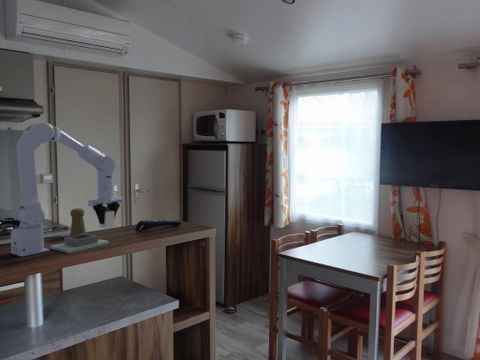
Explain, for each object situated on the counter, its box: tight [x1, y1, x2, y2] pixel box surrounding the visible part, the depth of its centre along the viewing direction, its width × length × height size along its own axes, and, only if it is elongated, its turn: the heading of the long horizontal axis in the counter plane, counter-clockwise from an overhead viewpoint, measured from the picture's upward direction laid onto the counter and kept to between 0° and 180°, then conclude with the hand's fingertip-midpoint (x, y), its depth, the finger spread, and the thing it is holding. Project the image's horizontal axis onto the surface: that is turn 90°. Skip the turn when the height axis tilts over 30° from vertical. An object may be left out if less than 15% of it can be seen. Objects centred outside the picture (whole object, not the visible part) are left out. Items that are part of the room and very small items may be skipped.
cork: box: [69, 207, 87, 236], centre depth 162 cm, size 6×6×11 cm
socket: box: [50, 233, 110, 254], centre depth 145 cm, size 16×11×4 cm
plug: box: [98, 206, 116, 229], centre depth 155 cm, size 4×4×8 cm
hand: (106, 222), depth 155 cm, fingers closed on plug, 4 cm apart
